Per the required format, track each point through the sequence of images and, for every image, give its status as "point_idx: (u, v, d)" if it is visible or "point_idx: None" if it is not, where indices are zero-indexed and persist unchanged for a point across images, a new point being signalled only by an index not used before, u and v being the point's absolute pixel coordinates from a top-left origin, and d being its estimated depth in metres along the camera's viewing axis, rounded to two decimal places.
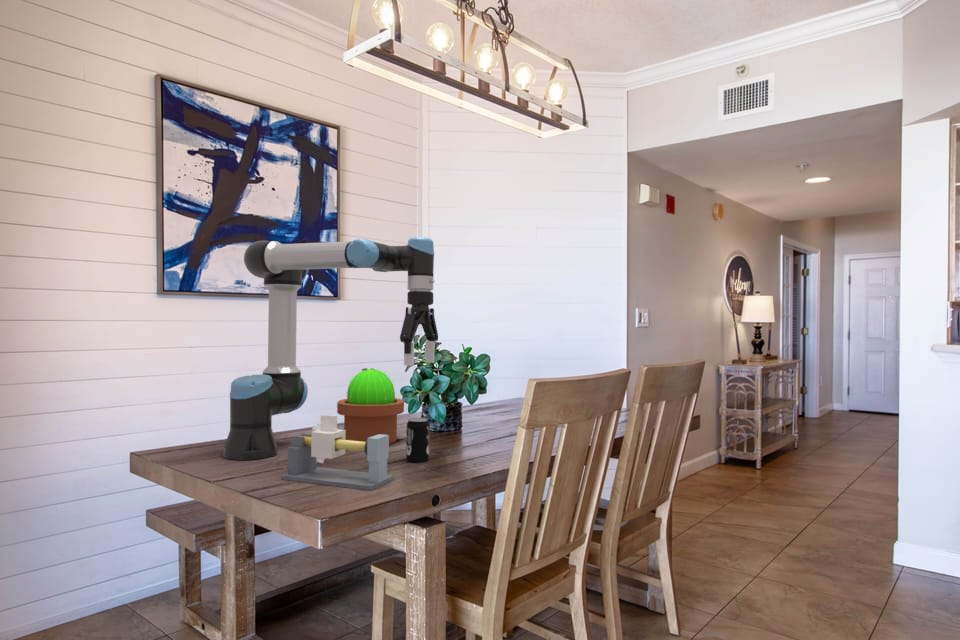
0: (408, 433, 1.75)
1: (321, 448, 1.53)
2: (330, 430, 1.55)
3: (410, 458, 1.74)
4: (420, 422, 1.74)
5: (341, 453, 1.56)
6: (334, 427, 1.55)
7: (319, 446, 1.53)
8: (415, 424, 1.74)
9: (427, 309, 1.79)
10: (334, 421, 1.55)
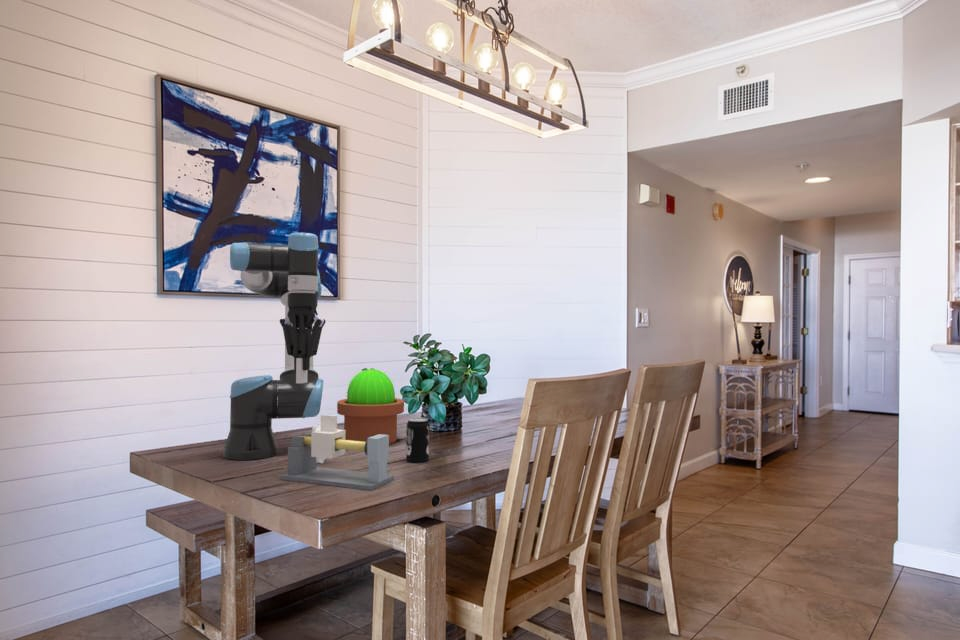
0: (408, 433, 1.75)
1: (321, 448, 1.53)
2: (330, 430, 1.55)
3: (410, 458, 1.74)
4: (420, 422, 1.74)
5: (341, 453, 1.56)
6: (334, 427, 1.55)
7: (319, 446, 1.53)
8: (415, 423, 1.74)
9: (309, 311, 1.57)
10: (334, 421, 1.55)
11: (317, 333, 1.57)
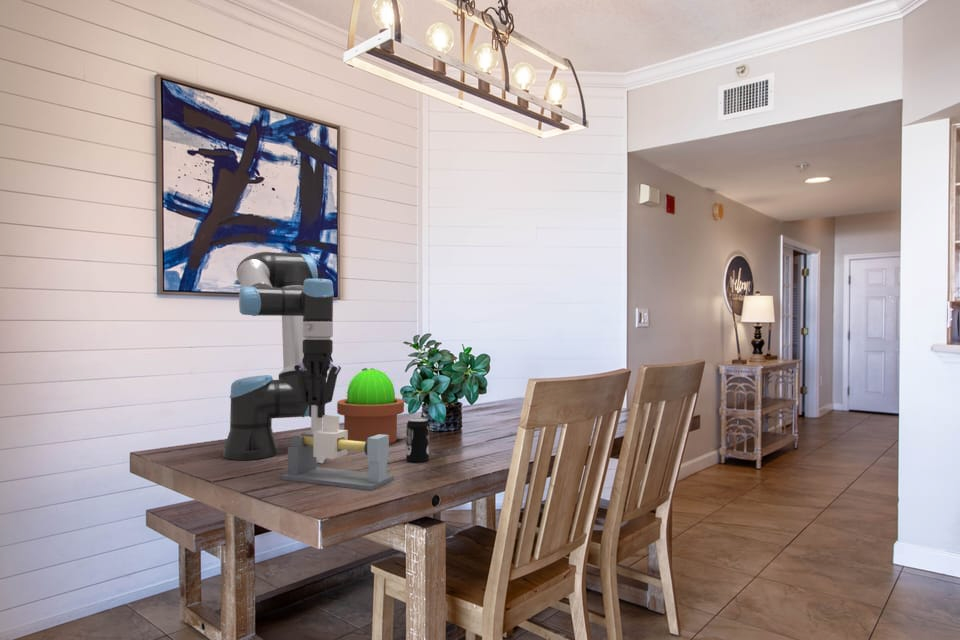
0: (408, 433, 1.75)
1: (323, 448, 1.53)
2: (332, 430, 1.55)
3: (410, 458, 1.74)
4: (420, 422, 1.74)
5: (343, 453, 1.56)
6: (336, 427, 1.55)
7: (321, 446, 1.53)
8: (415, 423, 1.74)
9: (324, 358, 1.55)
10: (336, 421, 1.55)
11: (332, 380, 1.55)
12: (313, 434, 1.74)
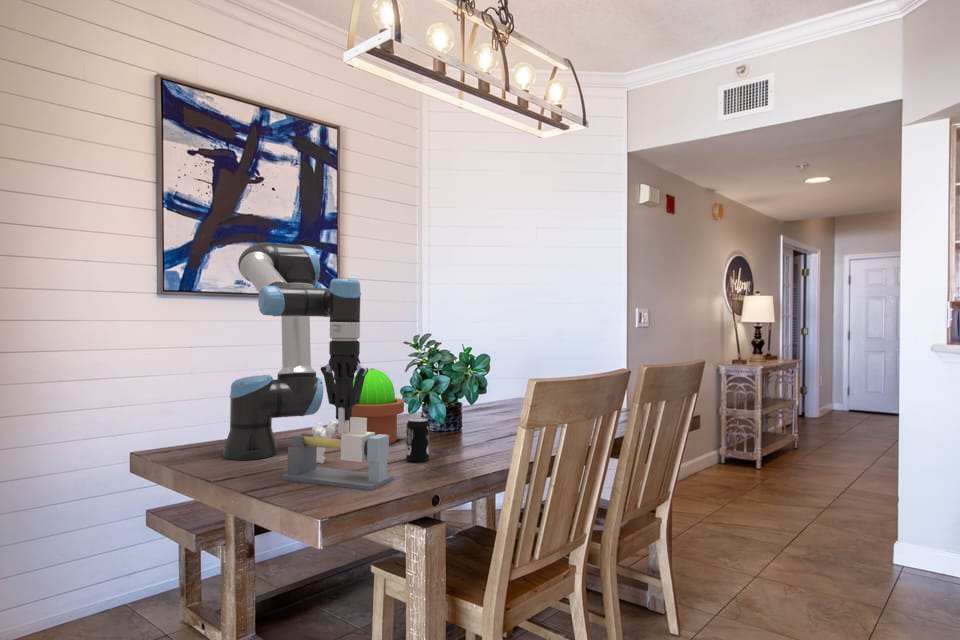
0: (408, 433, 1.75)
1: (351, 451, 1.50)
2: (360, 433, 1.52)
3: (410, 458, 1.74)
4: (420, 422, 1.74)
5: None
6: (364, 429, 1.52)
7: (349, 449, 1.50)
8: (415, 423, 1.74)
9: (352, 360, 1.52)
10: (364, 423, 1.52)
11: (360, 382, 1.52)
12: (313, 434, 1.74)
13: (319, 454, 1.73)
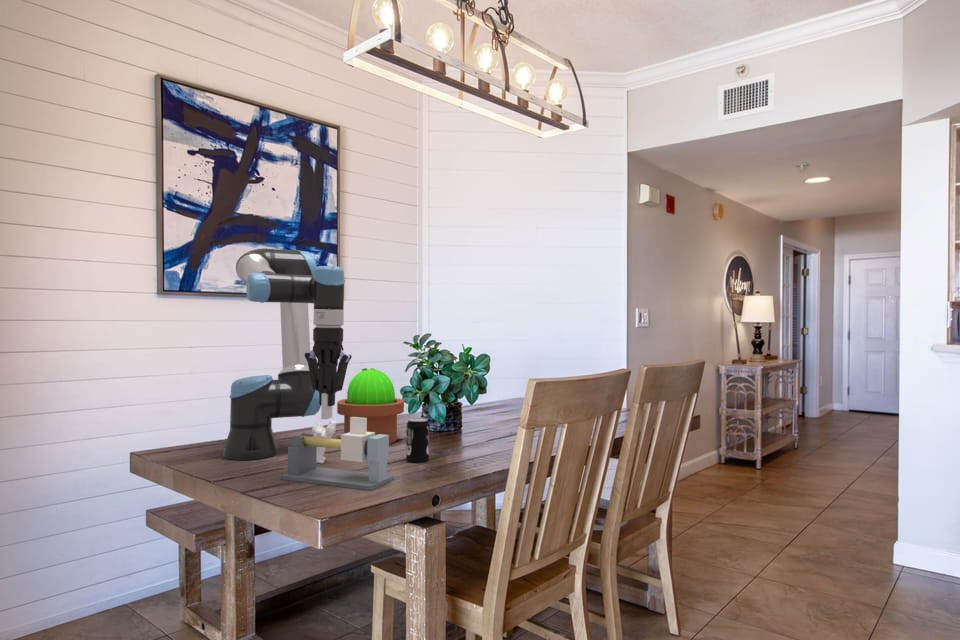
0: (408, 433, 1.75)
1: (351, 451, 1.50)
2: (360, 433, 1.52)
3: (410, 458, 1.74)
4: (420, 422, 1.74)
5: None
6: (364, 429, 1.52)
7: (349, 449, 1.50)
8: (415, 424, 1.74)
9: (335, 347, 1.54)
10: (364, 423, 1.52)
11: (343, 369, 1.54)
12: (313, 434, 1.74)
13: (319, 454, 1.73)
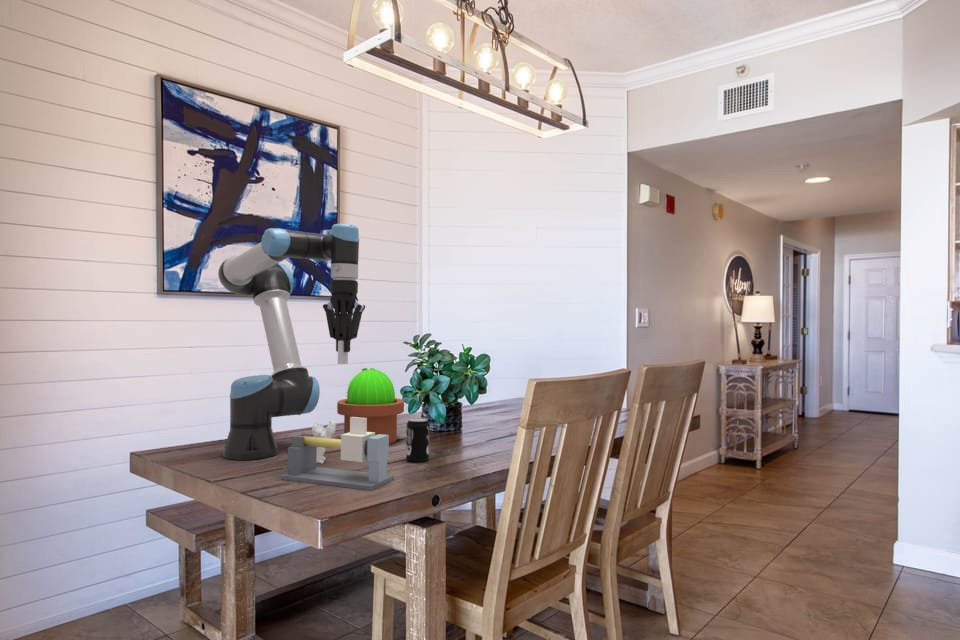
0: (408, 433, 1.75)
1: (351, 451, 1.50)
2: (360, 433, 1.52)
3: (410, 458, 1.74)
4: (420, 422, 1.74)
5: None
6: (364, 429, 1.52)
7: (349, 449, 1.50)
8: (415, 424, 1.74)
9: (350, 297, 1.69)
10: (364, 423, 1.52)
11: (357, 317, 1.69)
12: (313, 434, 1.74)
13: (319, 454, 1.73)
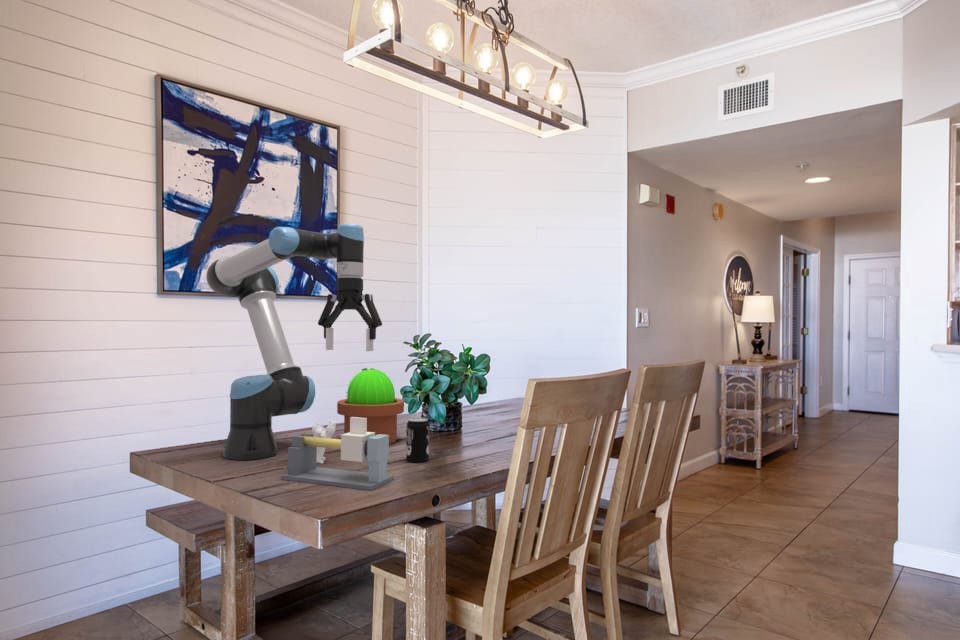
0: (408, 433, 1.75)
1: (351, 451, 1.50)
2: (360, 433, 1.52)
3: (410, 458, 1.74)
4: (420, 422, 1.74)
5: None
6: (364, 429, 1.52)
7: (349, 449, 1.50)
8: (415, 423, 1.74)
9: (355, 295, 1.75)
10: (364, 423, 1.52)
11: (372, 305, 1.74)
12: (313, 434, 1.74)
13: (319, 454, 1.73)
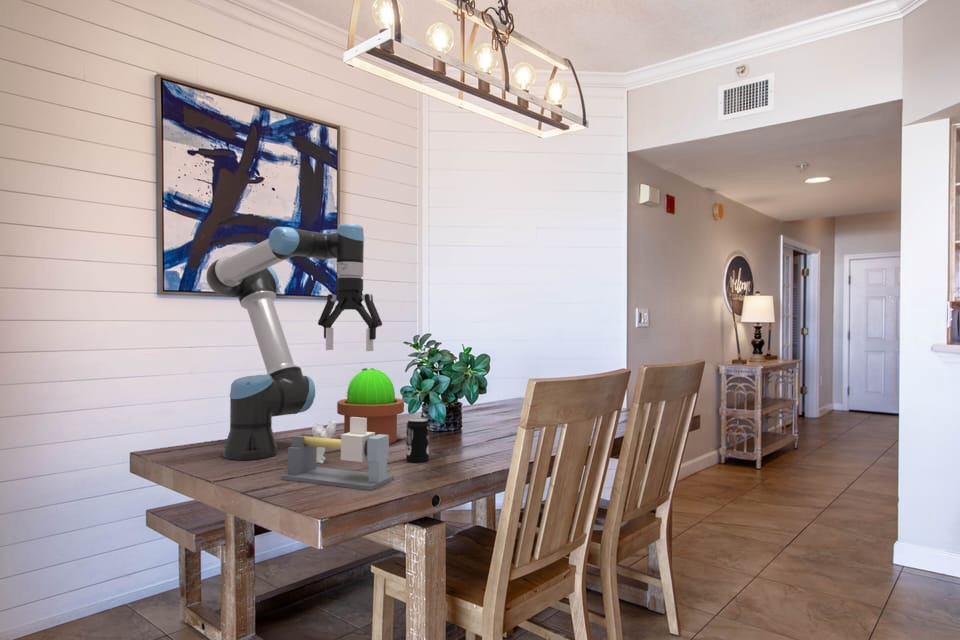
0: (408, 433, 1.75)
1: (351, 451, 1.50)
2: (360, 433, 1.52)
3: (410, 458, 1.74)
4: (420, 422, 1.74)
5: None
6: (364, 429, 1.52)
7: (349, 449, 1.50)
8: (415, 424, 1.74)
9: (355, 295, 1.75)
10: (364, 423, 1.52)
11: (372, 305, 1.74)
12: (313, 434, 1.74)
13: (319, 454, 1.73)
